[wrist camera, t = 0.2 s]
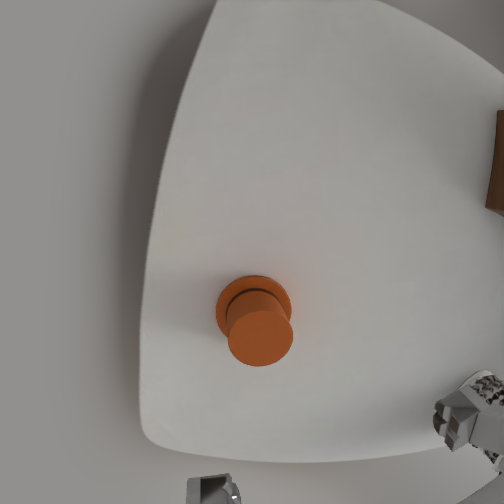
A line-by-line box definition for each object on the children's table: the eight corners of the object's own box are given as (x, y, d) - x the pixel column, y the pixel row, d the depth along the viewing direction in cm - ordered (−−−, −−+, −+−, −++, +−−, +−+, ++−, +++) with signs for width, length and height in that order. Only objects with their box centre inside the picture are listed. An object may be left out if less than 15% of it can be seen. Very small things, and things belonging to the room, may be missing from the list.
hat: (200, 310, 25) (197, 339, 20) (255, 260, 25) (264, 280, 20) (251, 355, 27) (258, 388, 22) (304, 309, 26) (321, 337, 21)
